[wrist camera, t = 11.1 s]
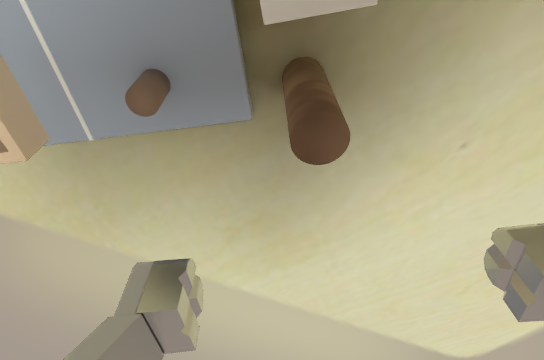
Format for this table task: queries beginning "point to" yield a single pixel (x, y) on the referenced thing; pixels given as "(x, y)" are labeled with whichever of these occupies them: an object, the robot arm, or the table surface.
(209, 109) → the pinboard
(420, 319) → the table surface
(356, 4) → the cover
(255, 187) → the table surface
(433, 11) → the table surface
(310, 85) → the pin
